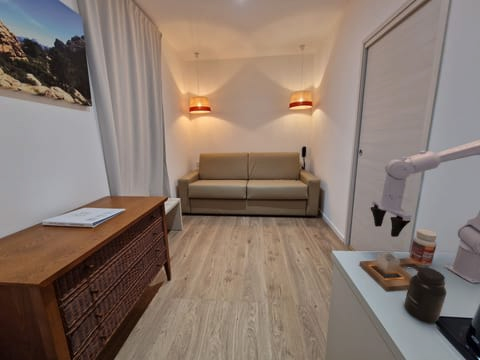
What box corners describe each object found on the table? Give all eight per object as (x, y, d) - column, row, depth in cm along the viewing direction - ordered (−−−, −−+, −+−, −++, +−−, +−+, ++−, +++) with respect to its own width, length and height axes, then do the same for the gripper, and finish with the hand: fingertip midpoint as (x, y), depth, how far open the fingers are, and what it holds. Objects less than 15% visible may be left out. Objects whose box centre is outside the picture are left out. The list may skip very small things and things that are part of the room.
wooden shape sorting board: (408, 261, 75) (409, 257, 75) (444, 286, 63) (445, 281, 63) (359, 265, 73) (360, 260, 72) (386, 291, 61) (387, 286, 61)
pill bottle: (423, 267, 72) (430, 237, 69) (405, 257, 78) (411, 229, 75) (435, 264, 74) (443, 235, 71) (416, 254, 79) (423, 227, 77)
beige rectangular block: (386, 271, 70) (389, 253, 68) (396, 280, 66) (400, 260, 64) (374, 272, 69) (378, 253, 68) (384, 281, 66) (388, 261, 64)
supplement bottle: (399, 309, 55) (408, 270, 52) (409, 298, 59) (418, 260, 56) (433, 329, 50) (446, 286, 47) (441, 315, 54) (453, 274, 51)
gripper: (367, 189, 79) (361, 222, 82) (400, 202, 65) (392, 242, 68) (384, 188, 80) (378, 221, 83) (420, 201, 66) (411, 240, 69)
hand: (385, 230), depth 76 cm, fingers open, 7 cm apart
